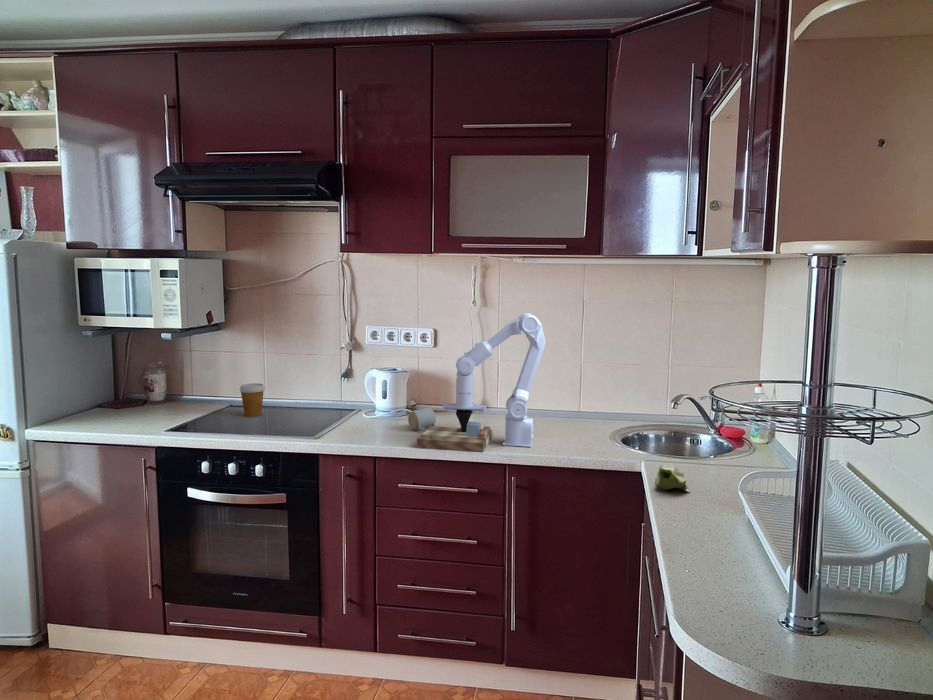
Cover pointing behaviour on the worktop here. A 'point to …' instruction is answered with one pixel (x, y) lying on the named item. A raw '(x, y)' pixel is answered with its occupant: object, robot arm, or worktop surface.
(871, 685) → the worktop surface
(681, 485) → the fruit
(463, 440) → the trap board
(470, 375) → the robot arm
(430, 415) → the ceramic mug
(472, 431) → the block
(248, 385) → the disposable coffee cup
